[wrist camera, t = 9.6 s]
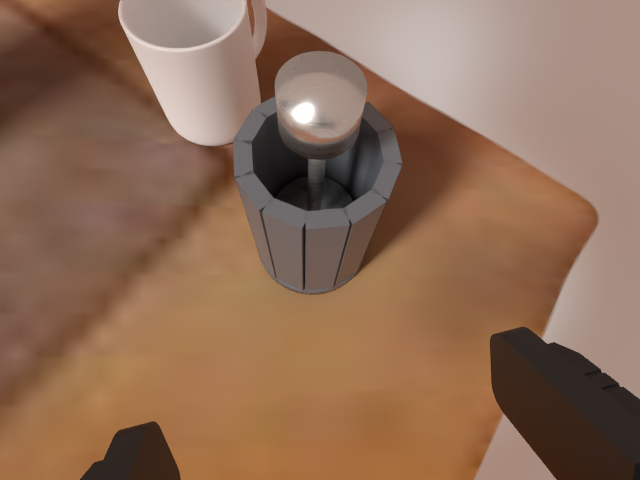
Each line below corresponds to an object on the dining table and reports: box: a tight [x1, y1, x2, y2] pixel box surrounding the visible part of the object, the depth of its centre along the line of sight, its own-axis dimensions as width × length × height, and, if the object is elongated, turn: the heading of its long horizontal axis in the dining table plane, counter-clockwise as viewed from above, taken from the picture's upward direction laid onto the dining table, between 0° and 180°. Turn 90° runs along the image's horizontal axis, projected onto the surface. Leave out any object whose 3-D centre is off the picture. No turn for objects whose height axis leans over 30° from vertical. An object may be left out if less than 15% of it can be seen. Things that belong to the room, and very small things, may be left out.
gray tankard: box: [233, 96, 402, 295], centre depth 25 cm, size 8×11×12 cm
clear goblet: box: [275, 51, 367, 211], centre depth 20 cm, size 5×5×12 cm
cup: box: [118, 0, 267, 146], centre depth 30 cm, size 8×12×10 cm
